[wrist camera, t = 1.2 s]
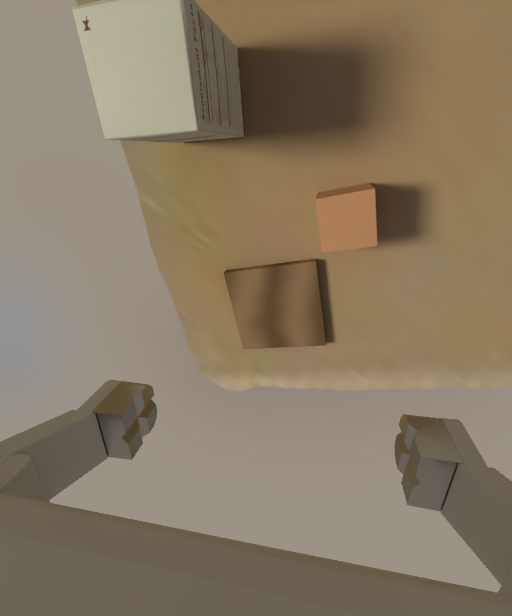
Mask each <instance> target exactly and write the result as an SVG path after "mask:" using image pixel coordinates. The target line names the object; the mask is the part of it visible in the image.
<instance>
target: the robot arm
mask: <svg viewBox="0 0 512 616" xmlns="http://www.w3.org/2000/svg"><path fill="white" fill-rule="evenodd" d="M153 396H154V392H153V387H152V386H150V385H147V384H140V383H132V382H125V381H117V380H109V381H107V382H105V383H104V384H103V385H102V386H101V387H100V388H99V389H98V390H97V391H96V392H95V393H94V394H93V395H92V396H91V397H90V398H89V399H88V400H87V401H86V402H85V403H84V404H83V405H82V406H81V407H80V408H79V409H78V410H71V411H69V412H67V413H64V414H62V415H60V416H58V417H55V418H53V419H51V420H49V421H46V422H44V423H42V424H40V425H37V426H35V427H33V428H30V429H28V430H26V431H24V432H22V433H19V434H17V435H15V436H12V437H10V438H8V439H6V440H3V441H1V442H0V616H512V481H510V480H509V479H508V478H506V477H505V476H504V475H502V474H501V473H499V472H498V471H497V470H496V469H494V468H489V467H487V465H486V463H485V462H484V460H483V458H482V456H481V455H480V453H479V451H478V450H477V448H476V446H475V445H474V443H473V441H472V439H471V438H470V436H469V434H468V433H467V431H466V429H465V427H464V426H463V424H462V422H460V421H459V420H455V419H445V418H439V419H438V418H431V417H422V416H413V415H404V414H403V415H402V417H401V419H400V423H399V426H400V429H401V433H400V434H398V435H397V437H396V441H395V458H396V464H397V468H398V470H399V471H400V472H401V473H402V474H403V479H402V486H403V490H404V493H405V497H406V501H407V504H408V505H411V506H416V507H421V508H426V509H431V510H437V511H442V512H441V514H442V515H443V516H444V517H445V518H446V519H447V521H448V522H449V523H450V524H451V525H452V527H453V528H454V529H455V530H456V531H457V533H458V534H459V535H460V536H461V537H462V539H463V540H464V541H465V542H466V543H467V545H468V546H469V547H470V548H471V549H472V551H473V552H474V553H475V554H476V555H477V557H478V558H479V559H480V560H481V561H482V562H483V564H484V565H485V566H486V567H487V568H488V570H489V571H490V572H491V573H492V574H493V575H494V577H495V578H496V579H497V580H498V582H499V583H500V584H501V585H502V586H501V588H500V590H499V592H498V593H495V592H491V591H486V590H481V589H476V588H471V587H466V586H461V585H456V584H451V583H446V582H441V581H436V580H431V579H426V578H421V577H416V576H412V575H407V574H402V573H396V572H391V571H386V570H381V569H376V568H372V567H367V566H362V565H356V564H352V563H347V562H342V561H337V560H332V559H327V558H321V557H316V556H311V555H306V554H301V553H296V552H291V551H286V550H281V549H276V548H271V547H266V546H261V545H256V544H251V543H246V542H242V541H236V540H231V539H227V538H221V537H217V536H212V535H207V534H202V533H197V532H192V531H187V530H182V529H177V528H172V527H167V526H162V525H158V524H153V523H148V522H143V521H138V520H133V519H127V518H123V517H117V516H113V515H108V514H103V513H98V512H93V511H88V510H83V509H78V508H73V507H68V506H63V505H57V504H53V503H50V501H49V500H50V499H51V498H53V497H54V496H55V495H57V494H58V493H60V492H61V491H62V490H64V489H65V488H67V487H68V486H69V485H71V484H72V483H73V482H75V481H76V480H78V479H79V478H81V477H82V476H83V475H85V474H86V473H88V471H90V470H92V469H93V468H94V467H96V466H97V465H99V464H100V463H101V462H103V461H104V460H105V459H107V457H115V458H123V459H130V460H132V459H133V457H134V456H135V454H136V453H137V451H138V450H139V448H140V447H141V445H142V444H143V442H142V437H143V436H145V435H147V434H148V433H150V431H151V430H152V428H153V427H154V424H155V421H156V417H157V408H156V404H155V403H154V402H153V401H152V400H151V398H152V397H153Z"/></svg>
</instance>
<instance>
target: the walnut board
mask: <svg viewBox="0 0 512 616" xmlns="http://www.w3.org/2000/svg"><path fill="white" fill-rule="evenodd" d="M224 276H225V279H226V283H227V287H228V291H229V295H230V299H231V303H232V307H233V310H234V314H235V318H236V322H237V326H238V330H239V334H240V338H241V341H242V345H243V349H255V348H276V347H298V346H319V345H326V333H325V325H324V317H323V309H322V301H321V293H320V285H319V277H318V269H317V261H316V259H310V260H303V261H295V262H287V263H279V264H271V265H263V266H255V267H247V268H240V269H232V270H226V271H225V272H224Z"/></svg>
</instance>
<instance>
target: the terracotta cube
mask: <svg viewBox="0 0 512 616" xmlns="http://www.w3.org/2000/svg"><path fill="white" fill-rule="evenodd" d="M315 200H316V208H317V217H318V226H319V234H320V243H321V251H322V253H327V252H335V251H342V250H350V249H357V248H365V247H372V246H377V226H376V200H375V188H374V187H373V186H372V185H371V184H370V183H366V184H361V185H356V186H350V187H345V188H340V189H334V190H329V191H324V192H319V193H318V194H317V197H316V199H315Z"/></svg>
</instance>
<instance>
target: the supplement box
mask: <svg viewBox="0 0 512 616" xmlns="http://www.w3.org/2000/svg"><path fill="white" fill-rule="evenodd" d="M72 10H73V13H74V17H75V21H76V25H77V30H78V33H79V38H80V42H81V46H82V49H83V53H84V57H85V61H86V66H87V70H88V73H89V77H90V81H91V85H92V89H93V93H94V97H95V101H96V105H97V108H98V113H99V117H100V121H101V125H102V129H103V132H104V135H105V138H106V139H107V140H131V141H150V142H169V143H183V142H190V141H202V140H213V139H224V138H237V137H244V129H243V117H242V103H241V89H240V75H239V62H238V49H237V47H236V46H235V45H234V44H233V43H232V42H231V41H230V39H229V38H228V37H227V36H226V35H225V34H224V33H223V32H222V31H221V29H220V28H219V27H218V26H217V25H216V24H215V23H214V22H213V21H212V19H211V18H210V17H209V16H208V15H207V14H206V13H205V12H204V11H203V10H202V8H201V7H200V6H199V5H198V4H197V3H196V2H195V1H194V0H103V1H99V2H94V3H89V4H85V5H79V6H74V7H73V8H72Z"/></svg>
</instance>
